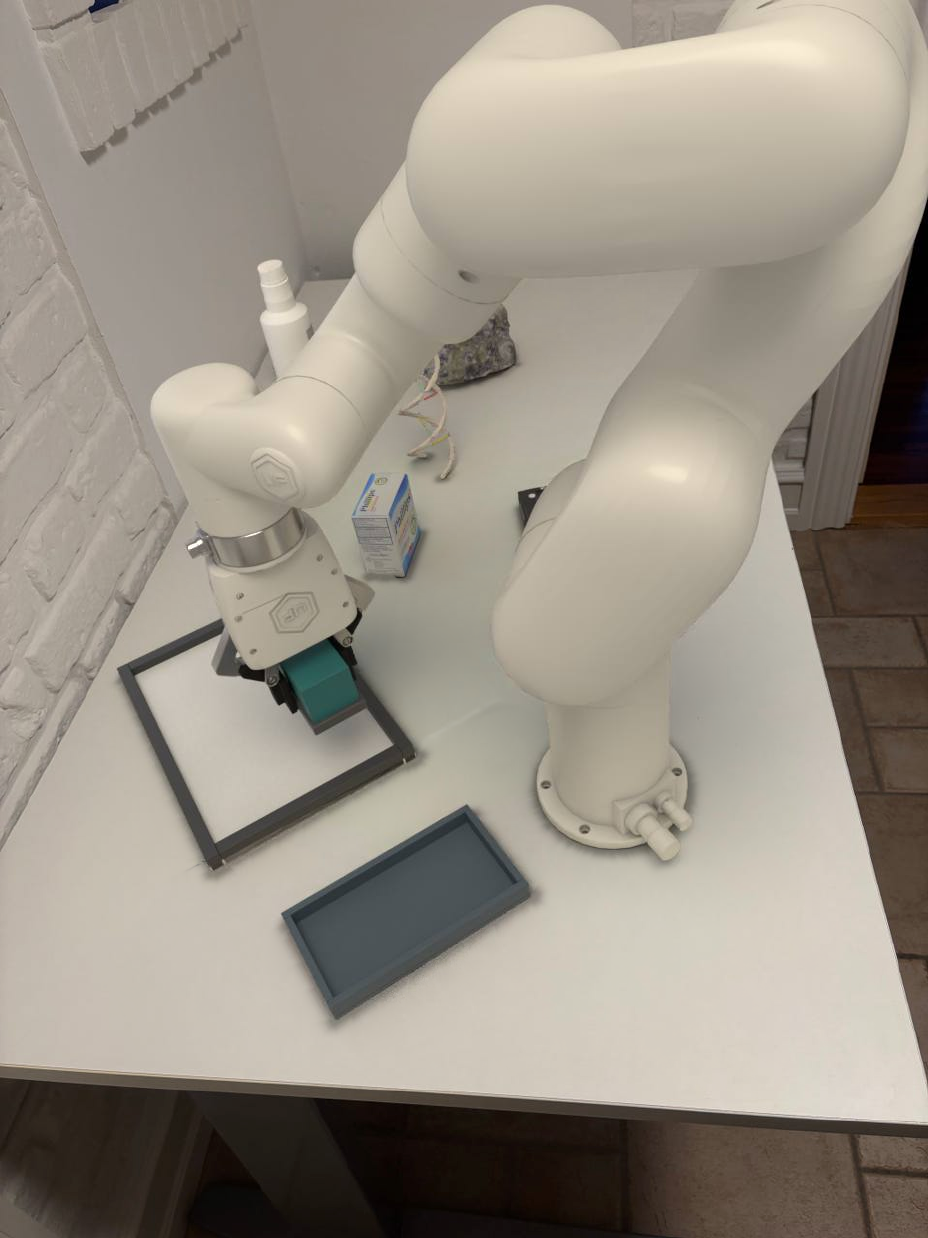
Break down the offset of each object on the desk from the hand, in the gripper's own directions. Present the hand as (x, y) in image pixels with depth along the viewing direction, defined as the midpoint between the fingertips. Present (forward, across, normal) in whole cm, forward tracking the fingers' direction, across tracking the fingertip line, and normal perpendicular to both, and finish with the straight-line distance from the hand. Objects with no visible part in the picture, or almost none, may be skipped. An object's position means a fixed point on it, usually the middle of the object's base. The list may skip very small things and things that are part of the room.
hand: (318, 686), depth 84 cm
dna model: (+7, +29, +33) cm, 44 cm away
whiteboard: (+7, -5, +8) cm, 12 cm away
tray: (+8, -3, -19) cm, 21 cm away
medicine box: (+8, +17, +21) cm, 28 cm away
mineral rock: (+7, +45, +50) cm, 67 cm away
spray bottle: (+7, +25, +65) cm, 70 cm away
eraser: (0, 0, 0) cm, 0 cm away
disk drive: (+8, +37, +11) cm, 39 cm away
